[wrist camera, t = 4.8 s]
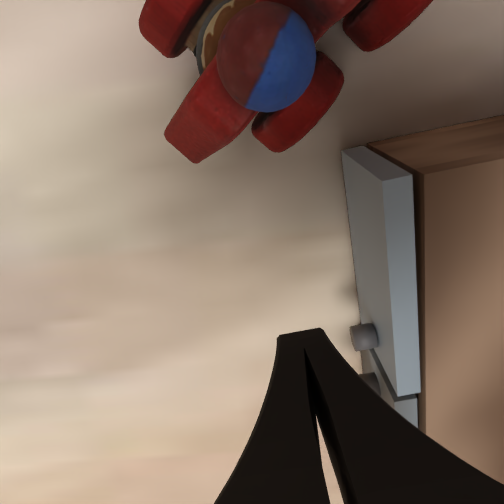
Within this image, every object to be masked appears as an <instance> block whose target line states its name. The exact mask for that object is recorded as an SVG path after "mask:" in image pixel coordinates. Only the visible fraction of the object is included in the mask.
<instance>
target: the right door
mask: <svg viewBox="0 0 504 504" xmlns="http://www.w3.org/2000/svg"><path fill="white" fill-rule="evenodd" d="M341 155H342V164H343V173H344V181H345V190H346V198H347V207H348V216H349V224H350V233H351V241H352V250H353V259H354V267H355V276H356V285H357V293H358V302H359V310H360V319H361V324H360V325H355V326H350V335H351V339H352V343H353V346H354V349H355V351H361V350H367V349H372V348H374V350H375V352H376V354H377V356H378V358H379V360H380V362H381V364H382V366H383V368H384V370H385V372H386V374H387V376H388V378H389V380H390V382H391V384H392V386H393V388H394V390H395V392H396V394H397V396H398V397H399V396H404V395H409V394H415V393H420V392H421V386H420V360H419V334H418V308H417V282H416V255H415V229H414V203H413V177H412V174H410V173H409V172H407V171H405V170H404V169H402V168H400V167H398V166H397V165H395V164H393V163H392V162H390V161H388V160H386V159H385V158H383V157H381V156H380V155H378V154H376V153H374V152H373V151H371V150H369V149H368V148H366V147H364V146H359V147H354V148H350V149H345V150H341Z"/></svg>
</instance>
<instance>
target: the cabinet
mask: <svg viewBox="0 0 504 504" xmlns="http://www.w3.org/2000/svg"><path fill="white" fill-rule="evenodd" d="M367 148H368V149H369V150H371V151H373V152H374V153H376V154H378V155H380V156H381V157H383V158H385V159H386V160H388V161H390V162H392V163H393V164H395V165H397V166H398V167H400V168H402V169H404V170H405V171H407V172H409V173H410V174H412V177H413V203H414V229H415V255H416V282H417V308H418V334H419V360H420V386H421V392H420V393H415V394H409V395H404V396H399V397H398V396H397V394H396V392H395V390H394V388H393V386H392V384H391V382H390V380H389V378H388V376H387V374H386V372H385V370H384V368H383V366H382V364H381V362H380V360H379V358H378V356H377V354H376V352H375V350H374V348H372V349H367V350H361V358H362V368H363V374H360V375H359V376H360V377H361V378H362V379H363V380H364V381H365V382H366V383H367V384H368V385H369V386H370V387H371V388H372V389H373V390H374V391H375V392H376V393H377V394H378V395H379V396H380V397H381V398H382V399H383V400H384V401H385V402H387V403H388V404H389V405H390V406H391V407H392V408H393V409H395V410H396V411H397V412H398V413H399V414H401V415H402V416H403V417H404V418H405V419H407V420H408V421H409V422H410V423H412V424H413V425H414V426H415V427H417V428H418V429H419V430H421V431H422V432H423V433H425V434H426V435H427V436H429V437H430V438H432V439H433V440H435V441H436V442H437V443H439V444H440V445H442V446H443V447H445V448H446V449H447V450H449V451H450V452H452V453H453V454H455V455H456V456H457V457H459V458H460V459H462V460H464V461H465V462H467V463H468V464H470V465H472V466H473V467H475V468H476V469H478V470H479V471H481V472H483V473H484V474H486V475H488V476H489V477H491V478H493V479H494V480H496V481H498V482H500V483H502V484H503V485H504V115H500V116H496V117H491V118H486V119H481V120H477V121H472V122H467V123H462V124H457V125H453V126H448V127H443V128H438V129H433V130H429V131H424V132H419V133H414V134H409V135H405V136H400V137H395V138H390V139H385V140H381V141H376V142H371V143H367Z"/></svg>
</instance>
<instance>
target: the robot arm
mask: <svg viewBox="0 0 504 504" xmlns="http://www.w3.org/2000/svg"><path fill="white" fill-rule="evenodd" d="M316 416H317V419H318V423H319V426H320V429H321V432H322V435H323V438H324V441H325V444H326V447H327V450H328V454H329V457H330V460H331V463H332V466H333V469H334V472H335V475H336V478H337V481H338V484H339V488H340V491H341V495H342V498H343V502H344V504H504V485H503V484H502V483H500V482H498V481H496V480H494V479H493V478H491V477H489V476H488V475H486V474H484V473H483V472H481V471H479V470H478V469H476V468H475V467H473V466H472V465H470V464H468V463H467V462H465V461H464V460H462V459H460V458H459V457H457V456H456V455H455V454H453V453H452V452H450V451H449V450H447V449H446V448H445V447H443V446H442V445H440V444H439V443H437V442H436V441H435V440H433V439H432V438H430V437H429V436H427V435H426V434H425V433H423V432H422V431H421V430H419V429H418V428H417V427H415V426H414V425H413V424H412V423H410V422H409V421H408V420H407V419H405V418H404V417H403V416H402V415H401V414H399V413H398V412H397V411H396V410H395V409H393V408H392V407H391V406H390V405H389V404H388V403H387V402H385V401H384V400H383V399H382V398H381V397H380V396H379V395H378V394H377V393H376V392H375V391H374V390H373V389H372V388H371V387H370V386H369V385H368V384H367V383H366V382H365V381H364V380H363V379H362V378H361V377H360V376H359V375H358V374H357V373H356V372H355V370H354V369H353V368H352V367H351V366H350V365H349V364H348V363H347V362H346V360H345V359H344V358H343V357H342V356H341V354H340V353H339V352H338V350H337V349H336V348H335V347H334V345H333V344H332V343H331V341H330V340H329V338H328V337H327V335H326V333H325V332H324V330H323V329H321V328H315V329H310V330H304V331H299V332H293V333H288V334H282V335H279V337H278V338H277V348H276V356H275V361H274V367H273V371H272V375H271V379H270V383H269V386H268V390H267V393H266V396H265V399H264V402H263V405H262V408H261V411H260V414H259V416H258V419H257V422H256V424H255V427H254V429H253V431H252V434H251V436H250V438H249V440H248V443H247V445H246V447H245V449H244V451H243V453H242V455H241V457H240V459H239V461H238V463H237V465H236V467H235V469H234V471H233V472H232V474H231V476H230V478H229V480H228V481H227V483H226V484H225V486H224V488H223V489H222V491H221V493H220V494H219V496H218V498H217V499H216V501H215V503H214V504H330V500H329V496H328V491H327V487H326V482H325V478H324V473H323V469H322V461H321V453H320V445H319V437H318V429H317V421H316Z"/></svg>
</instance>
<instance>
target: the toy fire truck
mask: <svg viewBox="0 0 504 504" xmlns="http://www.w3.org/2000/svg"><path fill="white" fill-rule="evenodd" d="M432 1H433V0H146V2H145V4H144V6H143V9H142V12H141V15H140V18H139V28H140V32H141V34H142V36H143V37H144V38H145V39H146V40H147V41H148V42H149V43H151V44H152V45H153V46H154V47H155V48H156V49H157V50H158V51H160V52H161V53H162V55H164V56H166V57H167V58H174V57H177V56H179V55H180V54H181V53H182V52H184V51H185V50H186V49H187V47H188V48H189V49H190V50H191V51H192V52H193V53H194V55H195V57H196V58H197V65H198V69H199V73H200V77H199V79H198V80H197V82H196V83H195V84H194V86H193V87H192V89H191V90H190V91H189V93H188V94H187V96H186V97H185V99H184V100H183V102H182V103H181V105H180V107H179V108H178V110H177V112H176V113H175V115H174V116H173V118H172V119H171V121H170V123H169V124H168V126H167V127H166V129H165V132H164V136H165V138H166V140H167V141H168V142H169V143H171V144H172V145H173V146H174V147H175V148H176V149H177V150H179V151H180V152H181V153H182V154H183V155H184V156H185V157H187V158H188V159H189V160H190V161H191V162H193V163H199V162H201V161H202V160H204V159H205V158H207V157H208V156H210V155H211V154H213V153H215V152H216V151H218V150H220V149H221V148H223V147H225V146H226V145H228V144H229V143H230V142H232V141H233V140H234V139H235V138H236V137H237V136H238V135H239V134H240V133H241V132H242V131H243V130H244V129H245V127H246V126H247V125H248V124H249V123H250V121H251V120H252V119H253V118H254V117H255V115H256V114H257V113H258V112H259V113H258V114H257V116H256V118H255V119H254V121H253V124H252V128H251V131H252V134H253V135H254V137H255V138H257V139H258V140H259V141H260V142H261V143H262V144H264V145H265V146H266V147H267V148H268V149H269V150H271V151H273V152H282V151H285V150H286V149H288V148H290V147H291V146H293V145H294V144H295V143H297V142H298V141H299V140H300V139H302V138H303V137H304V136H305V135H306V134H307V133H308V132H309V131H310V130H311V129H312V128H313V127H314V126H315V125H316V124H317V123H318V121H319V120H320V119H321V118H322V117H323V115H324V114H325V113H326V112H327V111H328V109H329V108H330V107H331V105H332V104H333V103H334V101H335V100H336V98H337V96H338V95H339V93H340V90H341V88H342V86H343V83H344V76H343V73H342V71H341V70H340V69H339V68H338V67H337V66H336V65H335V63H334V62H333V61H332V60H331V59H330V58H329V57H328V56H327V55H326V54H324V53H323V52H321V51H316V48H315V43H316V42H317V41H318V40H319V38H320V37H321V36H322V35H323V34H324V33H325V32H326V31H327V30H328V29H329V28H330V27H331V26H332V25H334V24H335V23H336V22H338V21H339V20H340V19H342V18H343V17H344V16H345V18H344V20H343V30H344V31H345V33H346V35H347V36H349V37H350V38H351V40H352V41H353V42H354V43H355V44H356V45H357V46H358V47H359V48H360V49H361V50H363V51H366V52H370V51H373V50H375V49H377V48H379V47H381V46H383V45H385V44H386V43H388V42H389V41H391V40H392V39H393V38H394V37H396V36H397V35H398V34H399V33H400V32H402V31H403V30H404V29H405V28H406V27H407V26H409V25H410V24H411V23H412V21H413V20H415V19H416V18H417V17H418V16H419V15H420V14H421V13H422V12H423V11H424V9H425V8H426V7H428V5H429V4H430V3H431V2H432Z"/></svg>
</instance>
